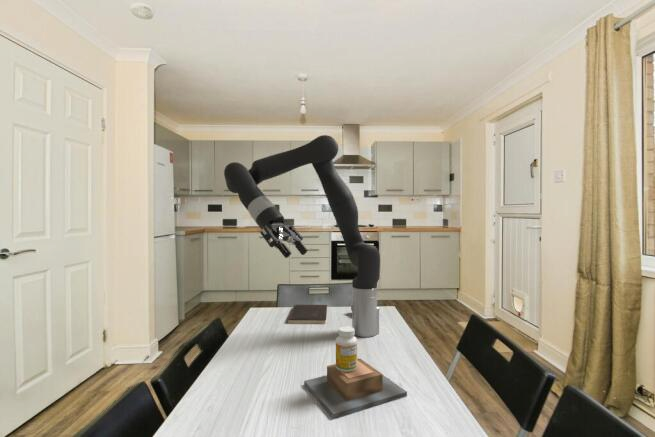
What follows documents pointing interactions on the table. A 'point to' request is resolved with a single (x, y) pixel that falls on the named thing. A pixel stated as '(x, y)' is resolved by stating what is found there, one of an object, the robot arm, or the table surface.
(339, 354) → the supplement bottle
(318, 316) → the hardcover book
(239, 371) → the table surface
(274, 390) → the table surface
